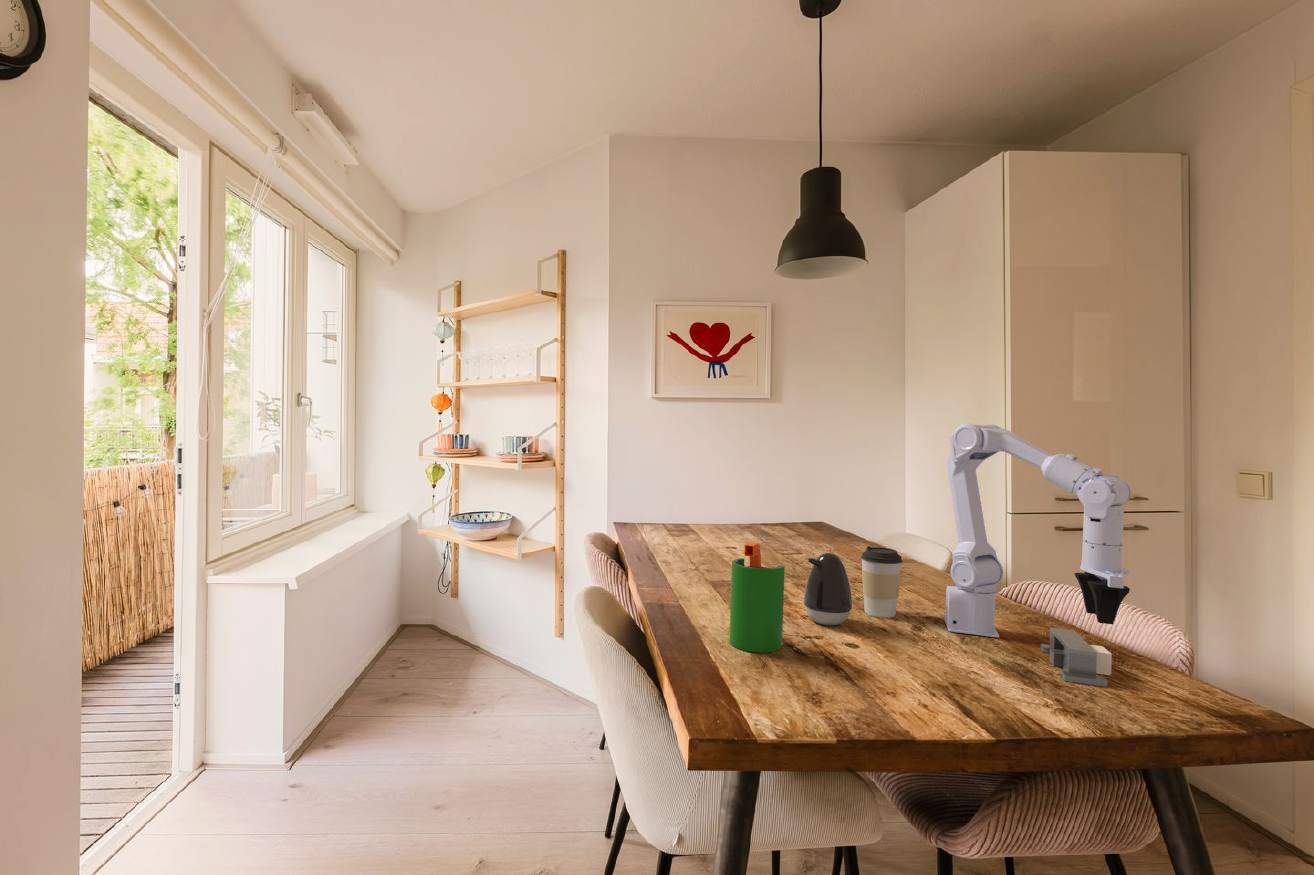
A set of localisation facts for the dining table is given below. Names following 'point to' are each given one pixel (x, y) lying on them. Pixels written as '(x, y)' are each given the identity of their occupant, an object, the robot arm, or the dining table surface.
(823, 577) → the black penguin figurine
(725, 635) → the dining table surface
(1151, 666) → the dining table surface
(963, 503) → the robot arm
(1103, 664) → the plug
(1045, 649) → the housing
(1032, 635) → the dining table surface
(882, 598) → the coffee cup
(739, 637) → the motor
